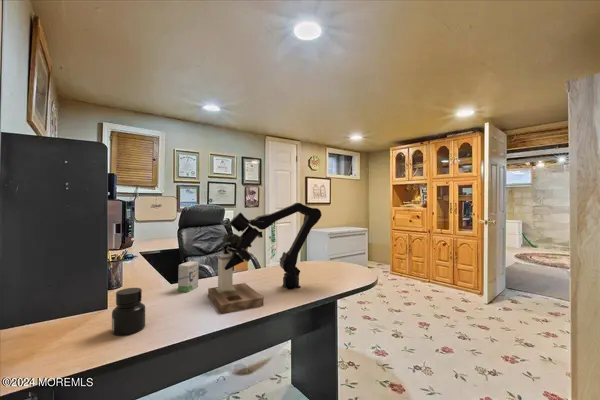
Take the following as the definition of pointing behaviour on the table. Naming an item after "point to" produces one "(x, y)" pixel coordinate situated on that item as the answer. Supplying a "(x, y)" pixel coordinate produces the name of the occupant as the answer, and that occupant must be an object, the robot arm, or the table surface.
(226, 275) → the plug
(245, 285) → the board
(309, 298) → the table surface
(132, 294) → the ink bottle
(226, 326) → the table surface
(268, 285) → the table surface
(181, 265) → the ink box
